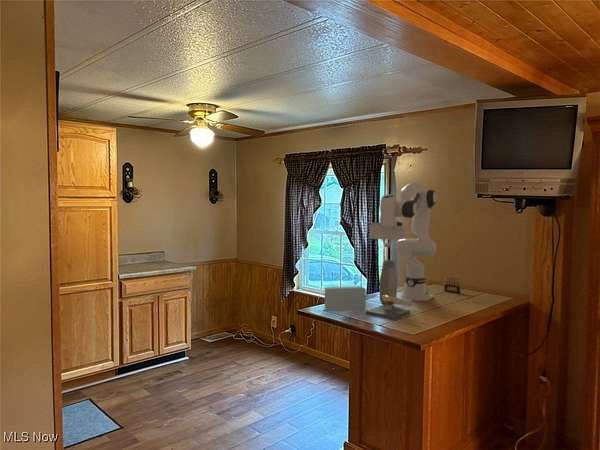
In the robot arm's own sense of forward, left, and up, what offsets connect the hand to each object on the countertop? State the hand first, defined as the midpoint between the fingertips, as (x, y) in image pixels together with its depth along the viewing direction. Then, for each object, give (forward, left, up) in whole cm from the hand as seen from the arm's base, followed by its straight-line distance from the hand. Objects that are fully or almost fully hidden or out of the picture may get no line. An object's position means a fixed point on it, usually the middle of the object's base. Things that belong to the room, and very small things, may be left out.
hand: (387, 246), depth 257 cm
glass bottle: (-11, -5, -37) cm, 39 cm away
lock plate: (+6, +5, -37) cm, 38 cm away
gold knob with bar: (+6, +10, -31) cm, 33 cm away
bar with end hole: (+15, -18, -37) cm, 44 cm away
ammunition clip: (-77, +8, -37) cm, 86 cm away
